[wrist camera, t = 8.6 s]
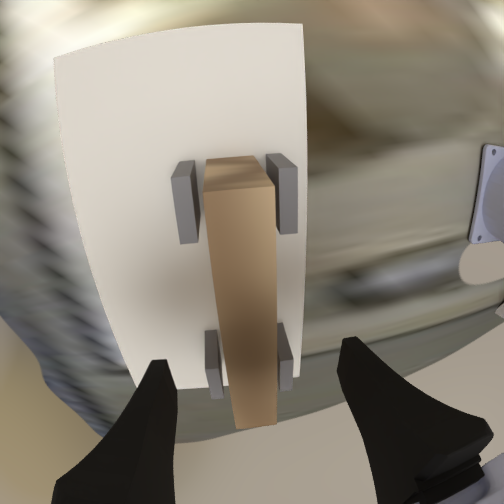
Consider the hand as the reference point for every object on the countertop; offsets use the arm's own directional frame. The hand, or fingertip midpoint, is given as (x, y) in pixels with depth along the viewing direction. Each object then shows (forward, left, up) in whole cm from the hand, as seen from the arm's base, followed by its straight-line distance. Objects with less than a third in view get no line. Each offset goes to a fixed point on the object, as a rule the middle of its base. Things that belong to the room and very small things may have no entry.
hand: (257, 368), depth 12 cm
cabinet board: (+3, -2, -8) cm, 9 cm away
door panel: (0, 0, -7) cm, 7 cm away
